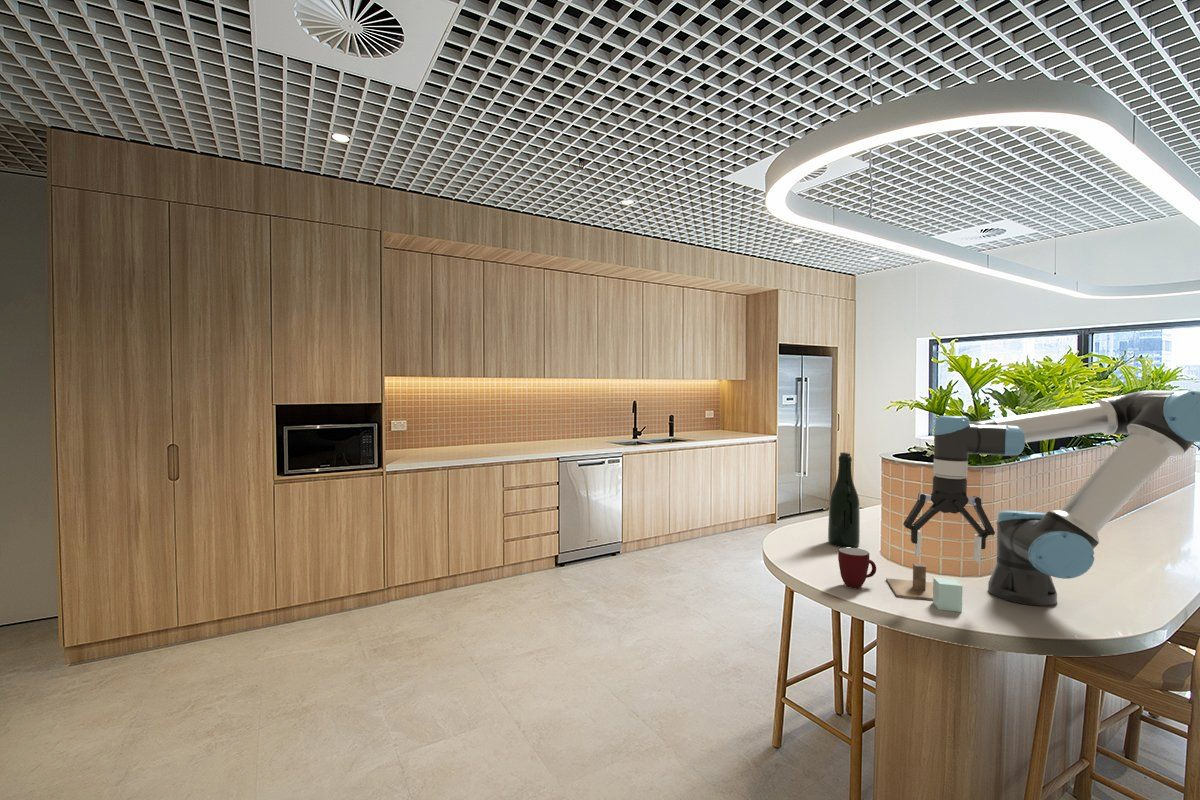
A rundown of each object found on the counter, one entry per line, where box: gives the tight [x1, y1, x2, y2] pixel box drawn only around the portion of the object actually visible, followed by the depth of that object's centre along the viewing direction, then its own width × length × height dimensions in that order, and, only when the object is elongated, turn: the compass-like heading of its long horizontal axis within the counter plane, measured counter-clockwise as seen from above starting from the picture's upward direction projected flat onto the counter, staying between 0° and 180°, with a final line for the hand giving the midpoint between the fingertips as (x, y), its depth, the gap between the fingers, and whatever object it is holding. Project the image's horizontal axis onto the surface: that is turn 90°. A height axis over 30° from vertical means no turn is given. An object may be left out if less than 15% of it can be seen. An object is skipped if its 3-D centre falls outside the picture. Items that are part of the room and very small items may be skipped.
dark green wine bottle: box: [827, 451, 861, 548], centre depth 208 cm, size 10×10×33 cm
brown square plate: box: [885, 562, 933, 601], centre depth 161 cm, size 14×14×7 cm
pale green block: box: [932, 577, 963, 613], centre depth 149 cm, size 5×5×7 cm
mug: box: [837, 547, 877, 590], centre depth 164 cm, size 10×8×10 cm
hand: (946, 558), depth 149 cm, fingers open, 13 cm apart
